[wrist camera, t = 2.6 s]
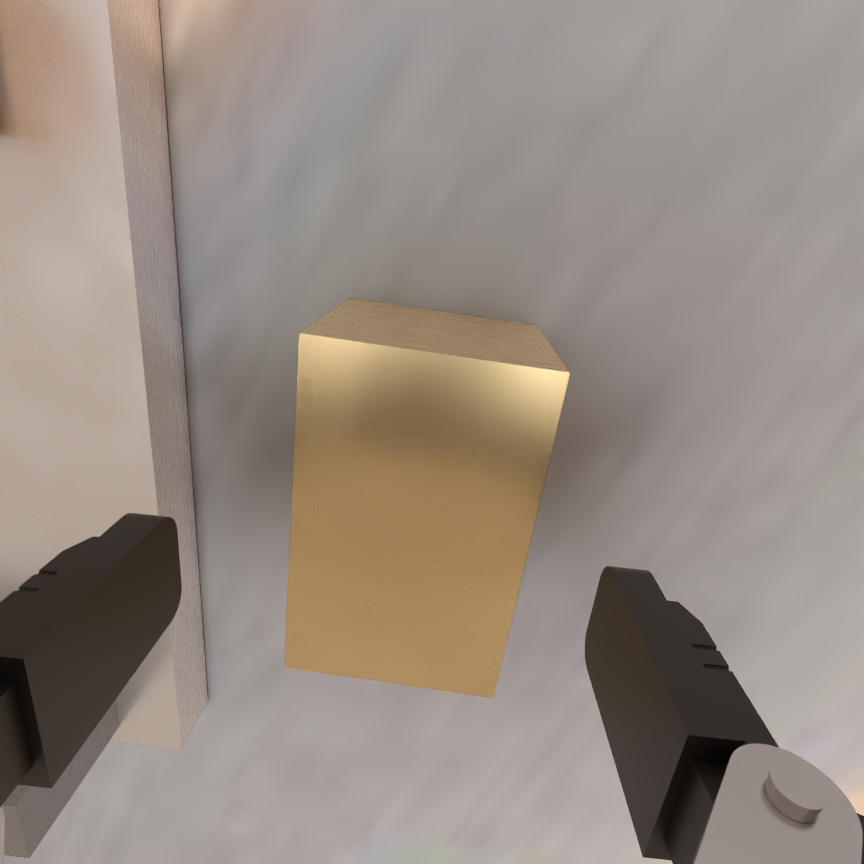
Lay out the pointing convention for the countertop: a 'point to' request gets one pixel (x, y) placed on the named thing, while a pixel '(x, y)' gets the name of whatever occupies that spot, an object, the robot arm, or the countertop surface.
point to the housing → (415, 491)
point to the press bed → (92, 341)
